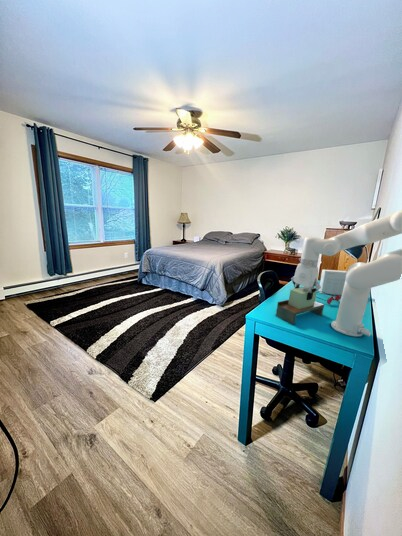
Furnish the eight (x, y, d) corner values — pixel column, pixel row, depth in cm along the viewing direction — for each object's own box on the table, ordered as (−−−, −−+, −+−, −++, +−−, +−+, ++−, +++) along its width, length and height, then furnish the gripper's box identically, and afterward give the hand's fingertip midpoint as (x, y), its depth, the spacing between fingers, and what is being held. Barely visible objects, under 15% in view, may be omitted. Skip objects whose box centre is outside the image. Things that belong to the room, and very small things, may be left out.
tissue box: (314, 305, 111) (317, 288, 108) (299, 309, 105) (302, 291, 102) (302, 300, 116) (305, 284, 114) (287, 304, 110) (290, 287, 108)
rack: (322, 315, 114) (325, 301, 112) (292, 324, 102) (295, 309, 100) (305, 307, 122) (307, 295, 120) (275, 315, 110) (277, 301, 108)
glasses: (327, 306, 126) (329, 298, 125) (302, 296, 140) (303, 288, 138) (340, 302, 133) (342, 294, 132) (315, 293, 147) (316, 286, 145)
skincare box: (349, 293, 150) (354, 271, 146) (353, 296, 144) (359, 273, 140) (317, 290, 151) (322, 268, 147) (321, 293, 146) (325, 271, 142)
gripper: (288, 259, 110) (283, 292, 115) (321, 267, 96) (314, 304, 100) (298, 258, 114) (292, 290, 118) (331, 266, 100) (323, 302, 104)
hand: (302, 296), depth 109 cm, fingers closed on tissue box, 6 cm apart
